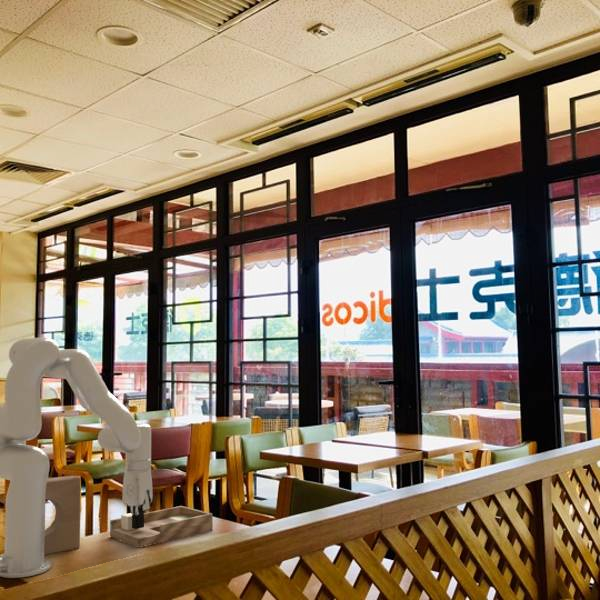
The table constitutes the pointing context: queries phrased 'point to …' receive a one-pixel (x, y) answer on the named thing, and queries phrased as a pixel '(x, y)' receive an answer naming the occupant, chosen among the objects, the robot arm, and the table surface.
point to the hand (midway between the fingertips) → (138, 527)
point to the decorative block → (63, 514)
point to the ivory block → (126, 521)
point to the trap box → (164, 526)
